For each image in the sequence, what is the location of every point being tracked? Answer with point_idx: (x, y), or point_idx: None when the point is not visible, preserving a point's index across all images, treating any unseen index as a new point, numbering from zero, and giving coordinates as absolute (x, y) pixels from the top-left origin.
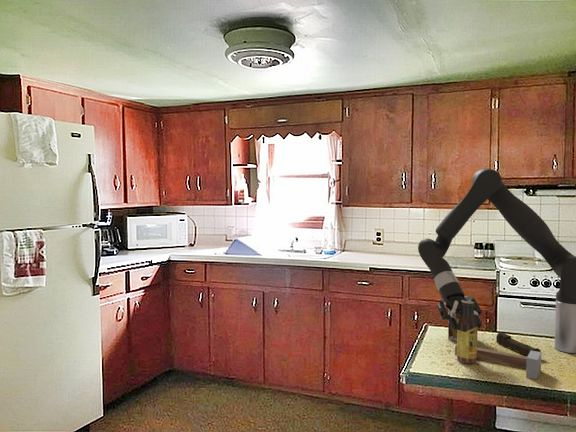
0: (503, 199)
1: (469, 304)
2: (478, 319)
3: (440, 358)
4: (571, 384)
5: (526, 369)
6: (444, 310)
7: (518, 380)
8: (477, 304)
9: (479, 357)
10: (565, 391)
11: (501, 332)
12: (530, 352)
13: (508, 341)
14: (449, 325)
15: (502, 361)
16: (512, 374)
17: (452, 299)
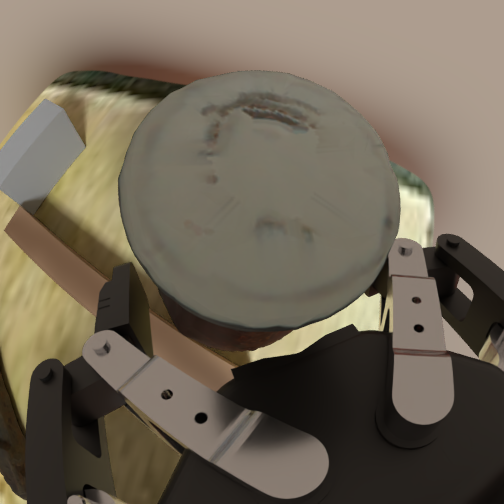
0: None
1: (273, 81)
2: (114, 298)
3: (328, 324)
4: (17, 121)
5: (76, 132)
6: (485, 264)
7: (121, 124)
8: (30, 467)
9: (161, 317)
10: (59, 83)
11: (14, 491)
12: (13, 164)
13: (6, 428)
14: None
15: (88, 263)
16: (111, 165)
17: (467, 462)
